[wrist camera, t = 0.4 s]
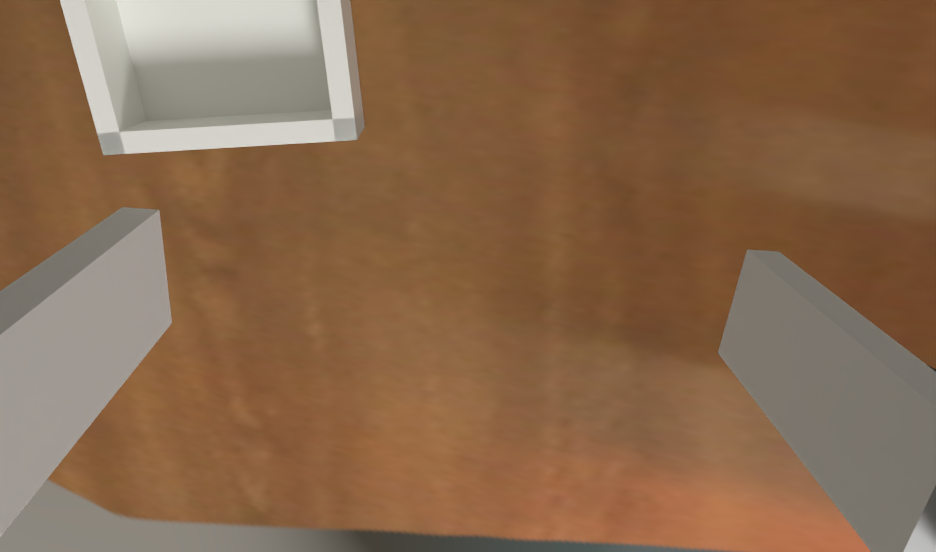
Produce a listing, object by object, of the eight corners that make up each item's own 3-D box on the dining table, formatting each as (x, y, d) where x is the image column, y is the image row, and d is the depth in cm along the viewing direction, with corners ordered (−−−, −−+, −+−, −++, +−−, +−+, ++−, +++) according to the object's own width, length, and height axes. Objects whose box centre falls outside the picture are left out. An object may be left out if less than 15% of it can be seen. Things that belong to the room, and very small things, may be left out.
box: (82, -63, 35) (40, -71, 31) (341, -77, 35) (330, -86, 31) (134, 140, 39) (103, 155, 35) (364, 126, 39) (357, 139, 36)
